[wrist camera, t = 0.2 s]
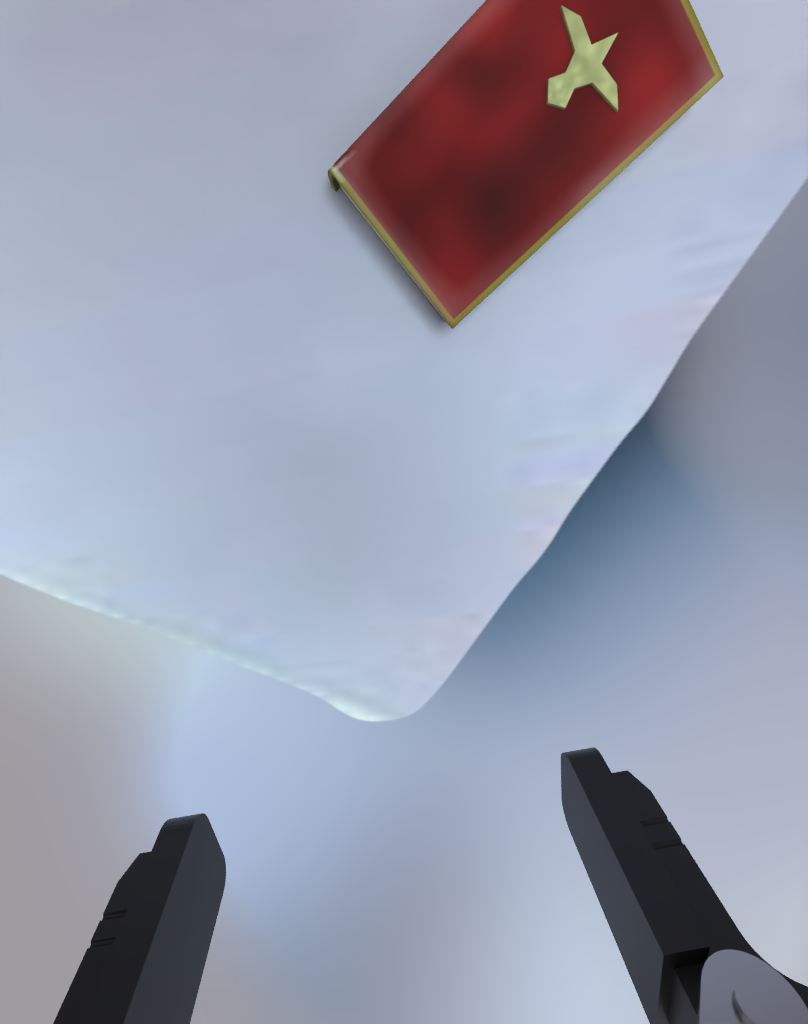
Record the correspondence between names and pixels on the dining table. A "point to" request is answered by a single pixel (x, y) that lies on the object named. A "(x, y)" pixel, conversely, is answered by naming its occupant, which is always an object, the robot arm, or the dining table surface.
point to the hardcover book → (519, 133)
